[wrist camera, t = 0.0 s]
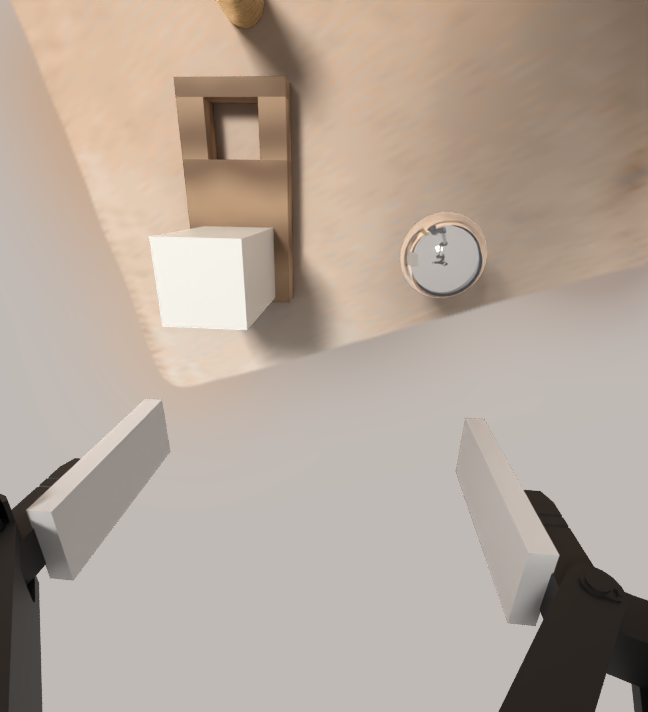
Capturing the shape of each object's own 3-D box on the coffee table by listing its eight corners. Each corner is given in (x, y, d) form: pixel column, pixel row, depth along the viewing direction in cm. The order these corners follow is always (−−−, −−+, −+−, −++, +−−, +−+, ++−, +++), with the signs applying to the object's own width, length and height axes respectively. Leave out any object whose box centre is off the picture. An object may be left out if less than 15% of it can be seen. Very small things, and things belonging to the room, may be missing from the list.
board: (185, 84, 37) (108, 35, 25) (290, 83, 36) (258, 33, 25) (206, 293, 44) (154, 325, 33) (293, 296, 43) (269, 330, 32)
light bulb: (474, 226, 39) (519, 237, 28) (439, 288, 42) (467, 322, 31) (412, 196, 38) (433, 196, 27) (381, 262, 41) (388, 285, 30)
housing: (204, 226, 39) (148, 236, 29) (273, 227, 38) (241, 238, 28) (211, 294, 42) (162, 326, 31) (275, 297, 41) (247, 330, 31)
